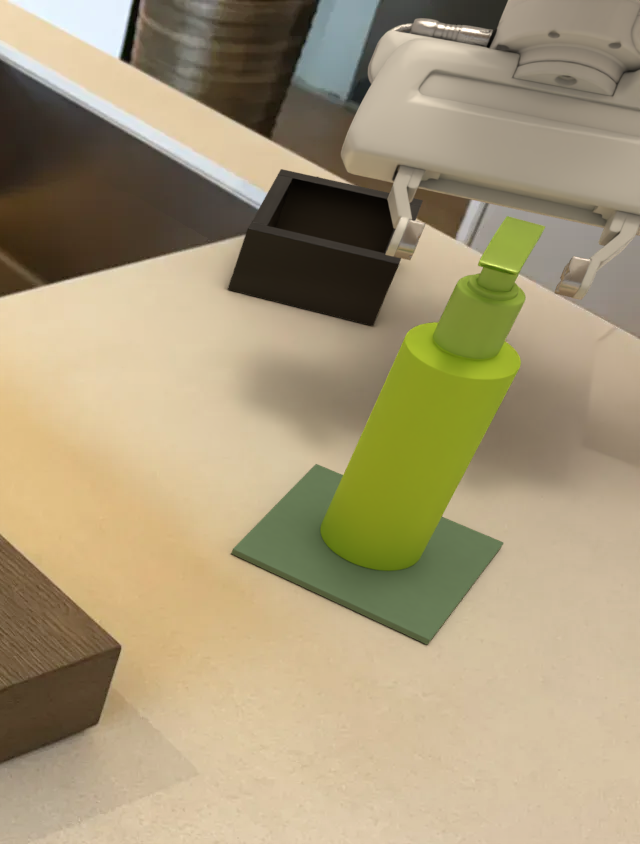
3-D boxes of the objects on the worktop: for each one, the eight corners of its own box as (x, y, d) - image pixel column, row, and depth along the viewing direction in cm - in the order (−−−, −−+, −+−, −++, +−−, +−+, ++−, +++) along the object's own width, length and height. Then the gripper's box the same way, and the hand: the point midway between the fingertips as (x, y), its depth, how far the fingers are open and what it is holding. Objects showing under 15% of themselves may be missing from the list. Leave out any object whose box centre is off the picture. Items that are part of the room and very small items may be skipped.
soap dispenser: (301, 555, 82) (441, 240, 67) (336, 499, 86) (475, 190, 71) (401, 593, 80) (567, 275, 65) (432, 534, 83) (596, 222, 69)
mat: (501, 547, 83) (504, 542, 83) (427, 645, 77) (430, 639, 77) (313, 468, 89) (316, 463, 88) (230, 553, 82) (232, 548, 82)
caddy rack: (372, 326, 102) (399, 263, 98) (227, 289, 105) (247, 228, 101) (397, 260, 109) (423, 200, 105) (260, 228, 112) (280, 168, 109)
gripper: (398, -16, 79) (307, 211, 80) (798, 51, 73) (694, 298, 74) (381, 39, 85) (297, 251, 86) (750, 107, 79) (653, 335, 80)
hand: (483, 273), depth 80 cm, fingers open, 8 cm apart
